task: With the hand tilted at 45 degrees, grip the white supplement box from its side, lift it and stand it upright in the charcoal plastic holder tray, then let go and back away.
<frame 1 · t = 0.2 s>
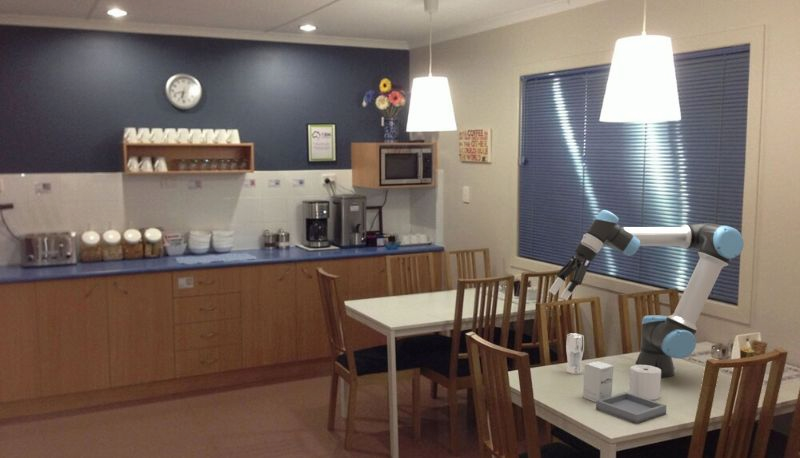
hand: (557, 295, 272), 35 cm above the table, tool tilted 35°, fingers open, 13 cm apart
toilet tissue: (645, 396, 266), on the table
holder tray: (630, 411, 249), on the table
supplement box: (597, 399, 262), on the table
beer glass: (573, 372, 293), on the table
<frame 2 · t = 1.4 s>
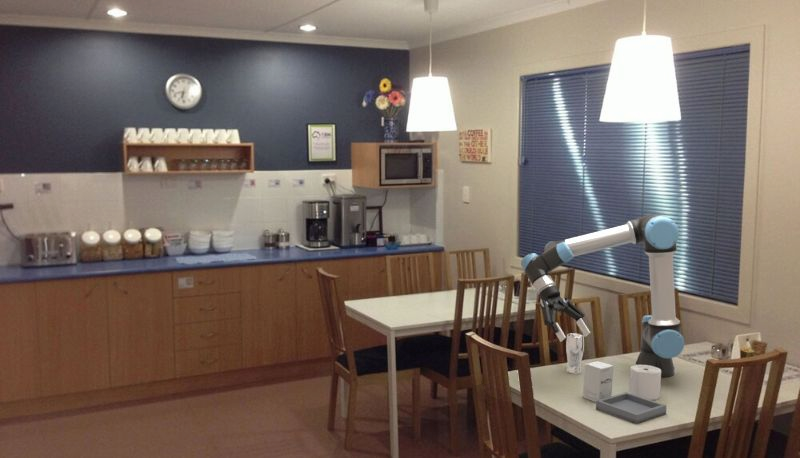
hand: (575, 337, 268), 20 cm above the table, tool tilted 45°, fingers open, 13 cm apart
nothing on the table moved.
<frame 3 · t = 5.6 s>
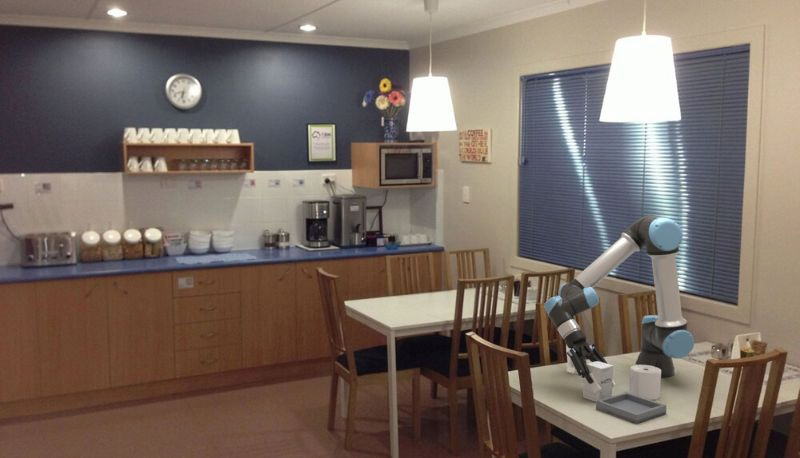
hand: (605, 388, 259), 5 cm above the table, tool tilted 45°, fingers closed on supplement box, 7 cm apart
supplement box: (597, 399, 262), on the table, touching gripper
everything else where it was.
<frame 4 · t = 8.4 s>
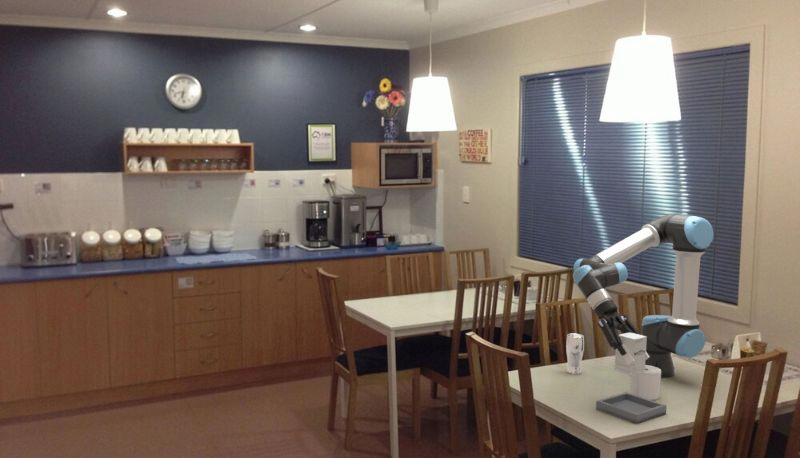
hand: (639, 360, 245), 18 cm above the table, tool tilted 45°, fingers closed on supplement box, 7 cm apart
supplement box: (629, 372, 249), point 14 cm above the table, touching gripper
everything else where it was.
when the fingers open (7 cm above the table, at t = 11.0 s): supplement box drops 1 cm, resting on holder tray.
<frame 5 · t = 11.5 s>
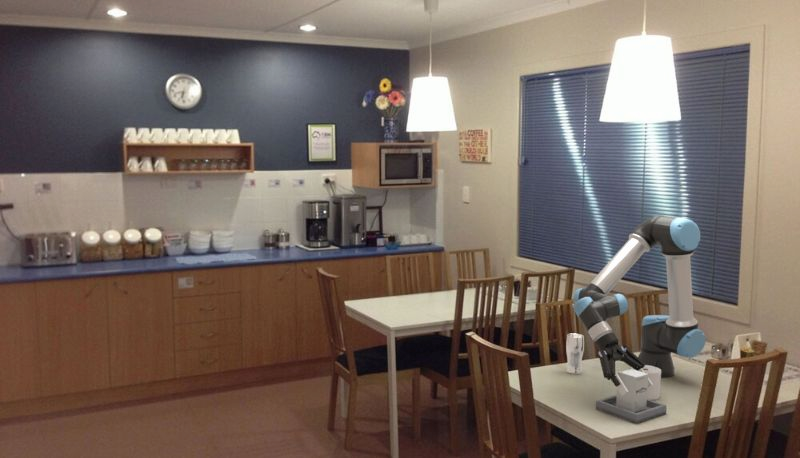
hand: (637, 390, 247), 8 cm above the table, tool tilted 45°, fingers open, 13 cm apart
supplement box: (631, 409, 250), point 1 cm above the table, touching holder tray
everything else where it was.
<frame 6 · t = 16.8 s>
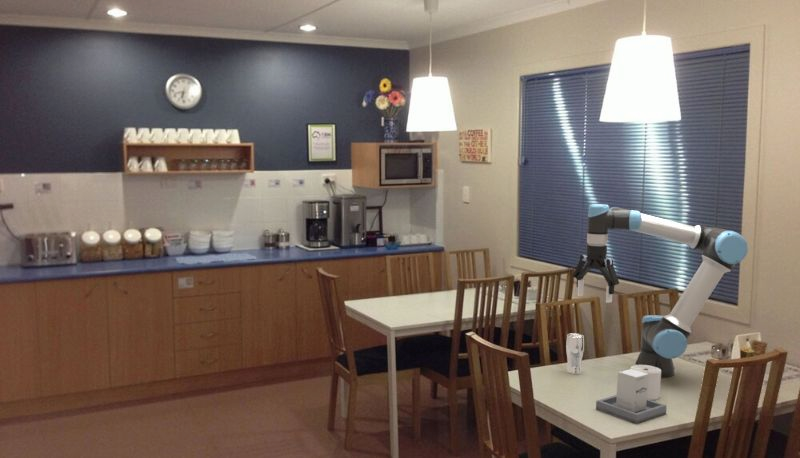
hand: (594, 299, 281), 32 cm above the table, tool pointing down, fingers open, 13 cm apart
nothing on the table moved.
at the end: supplement box inside the target area on the holder tray (0.3 cm from its centre), point 0.8 cm above the holder tray's base; supplement box tilted 0°; the gripper is holding nothing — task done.
